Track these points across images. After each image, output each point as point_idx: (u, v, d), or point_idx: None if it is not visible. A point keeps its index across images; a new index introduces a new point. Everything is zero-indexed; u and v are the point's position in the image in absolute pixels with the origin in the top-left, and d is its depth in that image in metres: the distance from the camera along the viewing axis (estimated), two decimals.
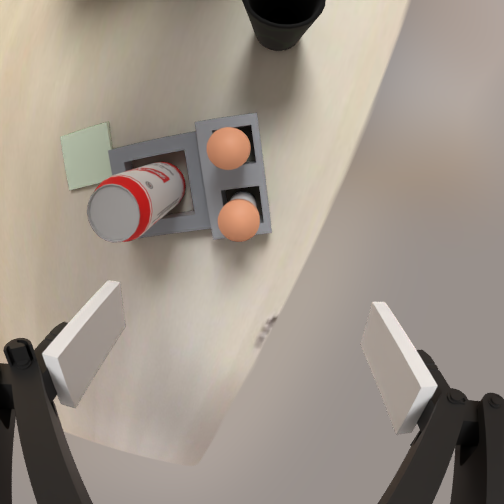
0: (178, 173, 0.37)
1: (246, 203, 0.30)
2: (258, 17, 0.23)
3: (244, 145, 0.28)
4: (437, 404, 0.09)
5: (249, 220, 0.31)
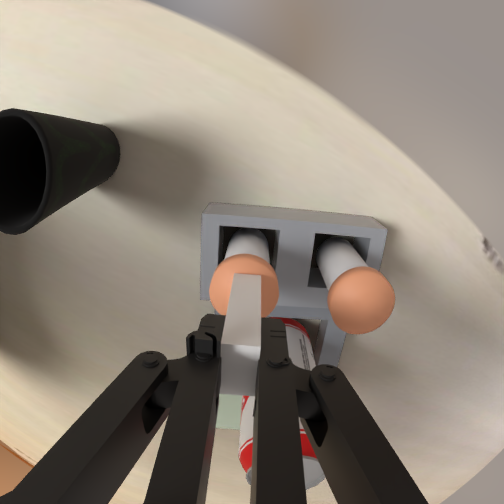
0: None
1: (340, 289, 0.18)
2: (35, 217, 0.15)
3: (244, 269, 0.18)
4: (259, 373, 0.10)
5: (367, 290, 0.18)
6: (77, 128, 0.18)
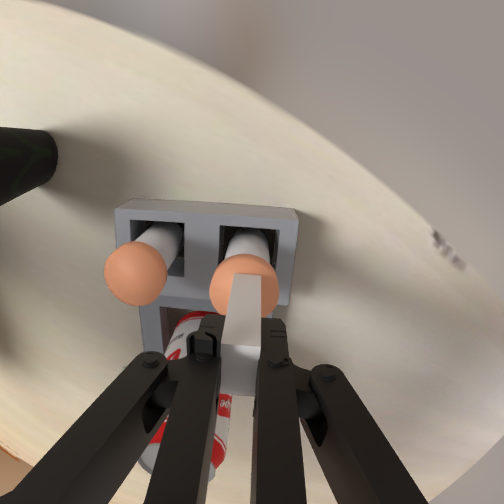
0: (188, 320, 0.28)
1: (215, 275, 0.18)
2: None
3: (129, 255, 0.19)
4: (259, 373, 0.10)
5: None
6: (9, 137, 0.18)
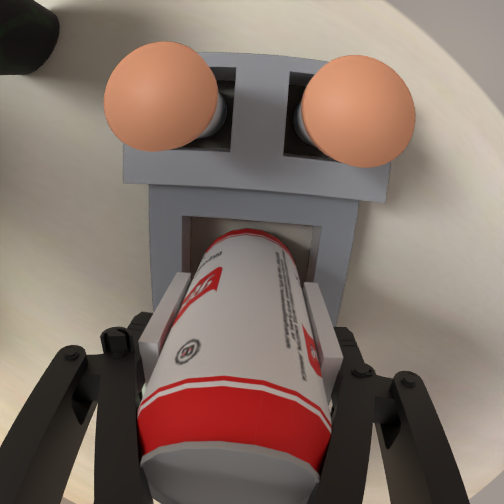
0: (227, 238, 0.18)
1: (317, 75, 0.09)
2: None
3: (157, 54, 0.09)
4: (343, 380, 0.10)
5: (364, 82, 0.09)
6: None
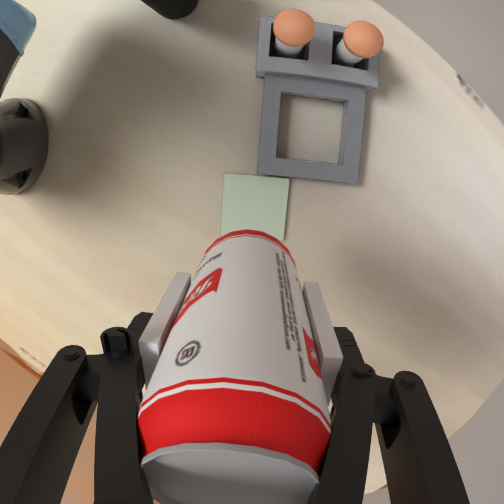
0: (227, 239, 0.19)
1: (349, 26, 0.24)
2: None
3: (294, 12, 0.24)
4: (343, 380, 0.10)
5: (364, 29, 0.24)
6: None
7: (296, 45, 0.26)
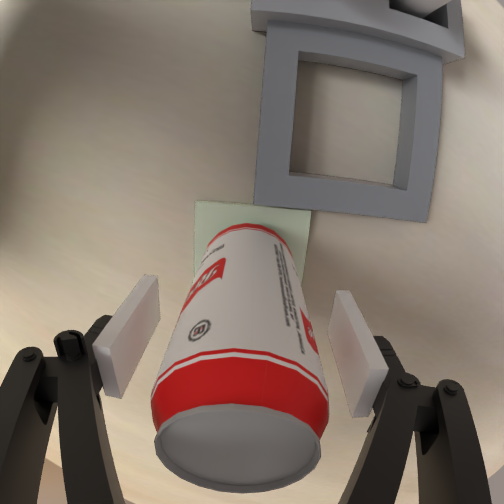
0: (228, 232, 0.20)
1: None
2: None
3: None
4: (389, 389, 0.10)
5: None
6: None
7: None
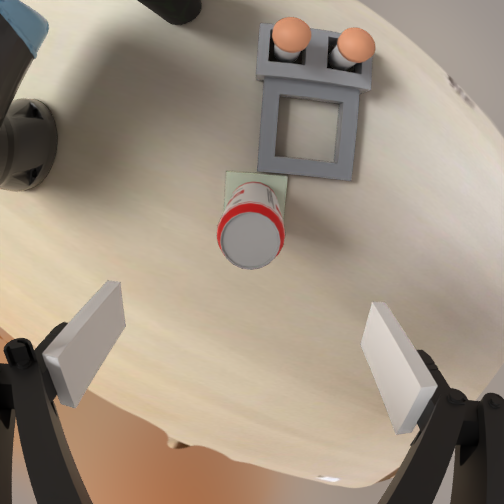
0: (244, 184, 0.39)
1: (343, 33, 0.27)
2: None
3: (292, 21, 0.27)
4: (437, 404, 0.09)
5: (357, 35, 0.27)
6: None
7: (293, 51, 0.28)
